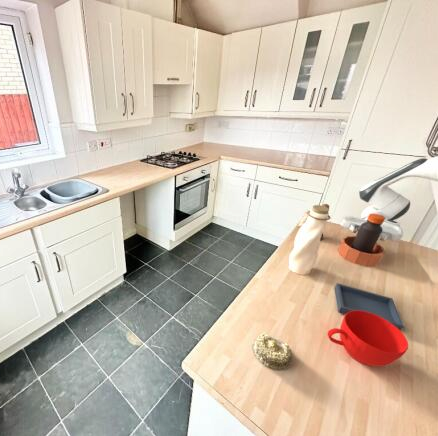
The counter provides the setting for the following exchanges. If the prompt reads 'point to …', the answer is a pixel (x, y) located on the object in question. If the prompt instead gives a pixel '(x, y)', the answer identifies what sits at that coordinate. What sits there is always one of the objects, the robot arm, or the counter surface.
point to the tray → (367, 304)
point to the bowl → (360, 253)
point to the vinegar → (368, 233)
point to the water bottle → (308, 239)
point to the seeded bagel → (272, 352)
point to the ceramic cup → (370, 338)
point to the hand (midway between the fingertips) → (368, 235)
